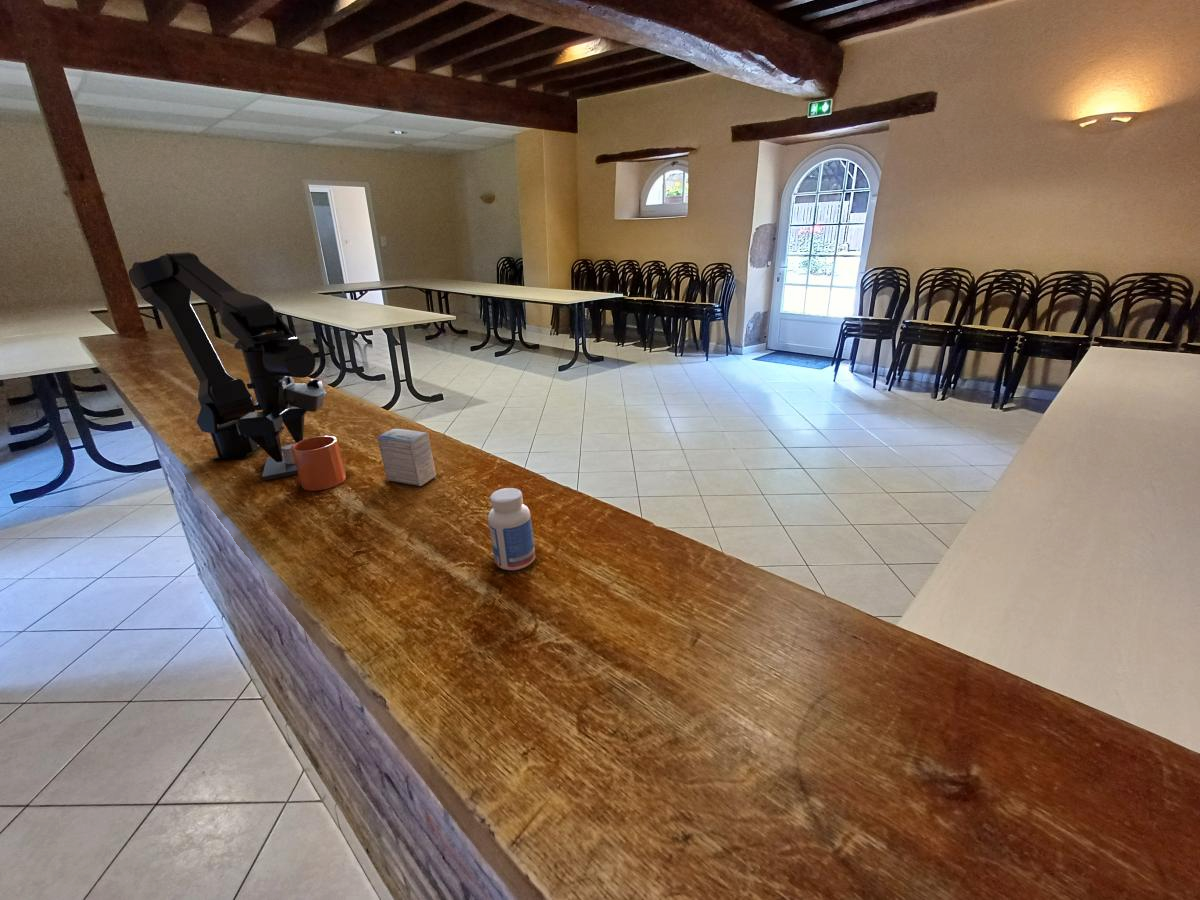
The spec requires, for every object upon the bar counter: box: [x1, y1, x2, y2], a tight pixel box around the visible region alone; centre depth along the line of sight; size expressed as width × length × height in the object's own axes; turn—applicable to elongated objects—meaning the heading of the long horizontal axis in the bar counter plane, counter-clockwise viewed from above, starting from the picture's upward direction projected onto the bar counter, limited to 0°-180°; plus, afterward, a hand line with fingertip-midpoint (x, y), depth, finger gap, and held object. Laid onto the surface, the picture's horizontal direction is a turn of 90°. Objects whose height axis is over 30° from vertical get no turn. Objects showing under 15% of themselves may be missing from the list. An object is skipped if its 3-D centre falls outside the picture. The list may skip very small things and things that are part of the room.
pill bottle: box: [487, 487, 536, 571], centre depth 72 cm, size 6×5×10 cm
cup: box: [291, 435, 347, 492], centre depth 98 cm, size 7×7×8 cm
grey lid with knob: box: [261, 443, 298, 482], centre depth 107 cm, size 10×10×4 cm
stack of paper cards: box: [377, 428, 437, 487], centre depth 97 cm, size 8×4×9 cm, turn 65°
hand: (290, 452), depth 107 cm, fingers open, 9 cm apart
